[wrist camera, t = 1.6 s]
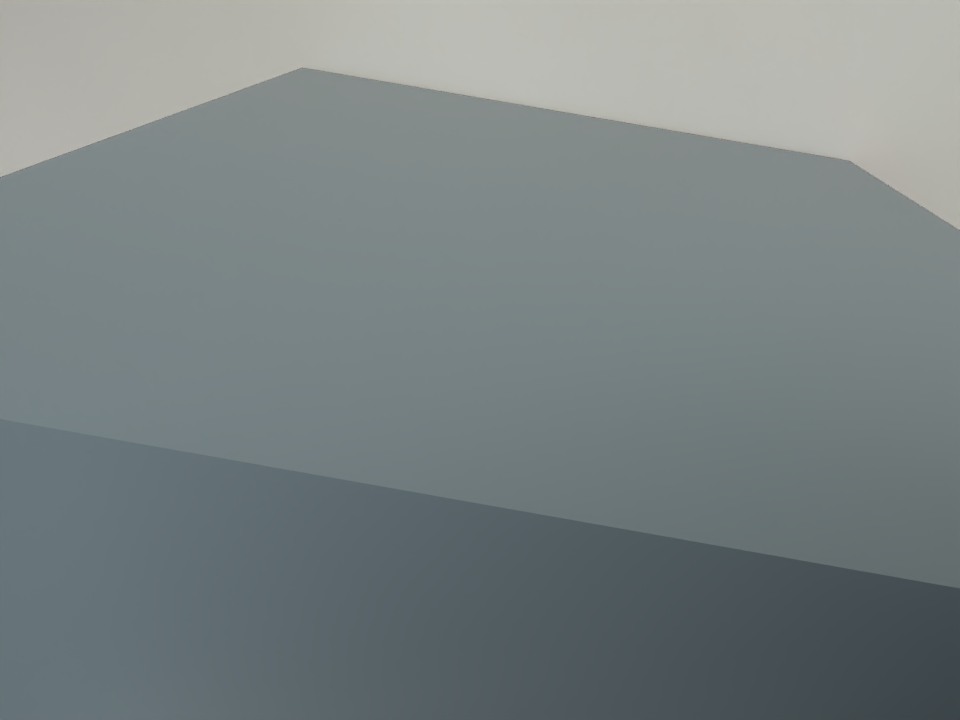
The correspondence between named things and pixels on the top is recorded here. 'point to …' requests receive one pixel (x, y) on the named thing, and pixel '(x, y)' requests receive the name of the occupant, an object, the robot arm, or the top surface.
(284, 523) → the grey square block
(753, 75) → the top surface
